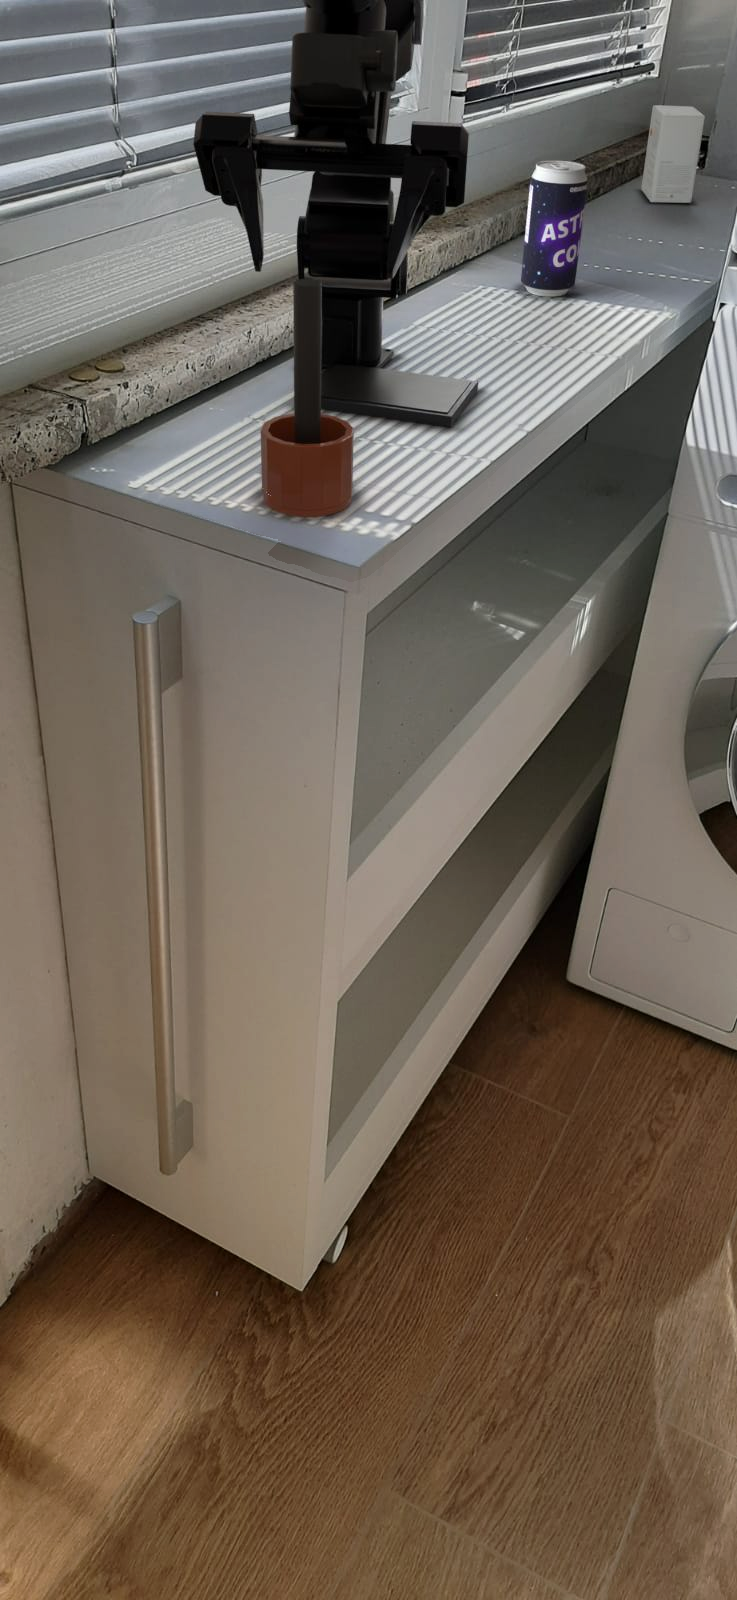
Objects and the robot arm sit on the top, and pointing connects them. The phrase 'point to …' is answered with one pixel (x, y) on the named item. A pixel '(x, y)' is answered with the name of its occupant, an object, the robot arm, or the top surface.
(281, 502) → the pencil cup
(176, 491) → the top surface
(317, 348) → the stylus
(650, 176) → the small box
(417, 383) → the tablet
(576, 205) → the beverage can
